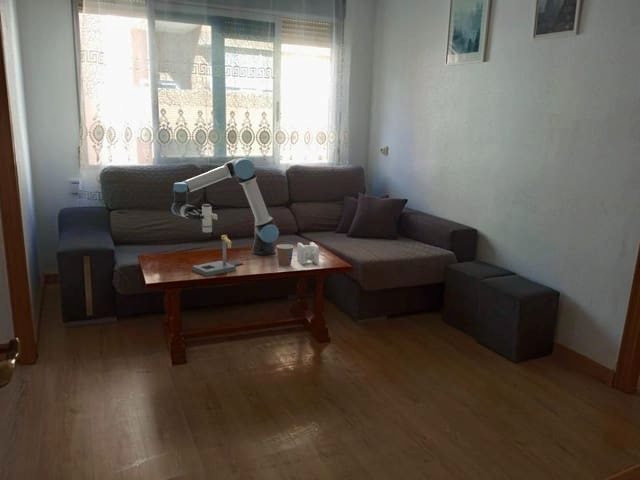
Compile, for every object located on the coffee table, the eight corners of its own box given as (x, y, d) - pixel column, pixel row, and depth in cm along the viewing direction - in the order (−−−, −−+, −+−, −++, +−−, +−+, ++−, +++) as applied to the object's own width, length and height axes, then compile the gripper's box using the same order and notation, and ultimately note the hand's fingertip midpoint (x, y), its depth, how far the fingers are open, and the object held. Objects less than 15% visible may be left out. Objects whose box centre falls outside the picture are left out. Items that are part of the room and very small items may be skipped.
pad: (235, 261, 308) (235, 260, 308) (243, 264, 303) (243, 263, 303) (224, 263, 303) (224, 262, 303) (231, 266, 297) (231, 265, 297)
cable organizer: (296, 259, 318) (296, 241, 315) (312, 259, 321) (313, 241, 318) (302, 266, 304) (303, 247, 301) (319, 265, 307) (320, 246, 304)
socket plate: (220, 264, 301) (220, 236, 297) (235, 270, 290) (235, 241, 287) (192, 270, 288) (191, 240, 284) (206, 276, 277) (206, 245, 274)
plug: (208, 230, 285) (208, 203, 282) (214, 231, 281) (214, 204, 278) (199, 231, 281) (199, 204, 278) (205, 233, 277) (204, 205, 274)
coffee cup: (290, 268, 298) (291, 248, 295) (273, 267, 299) (274, 247, 297) (295, 264, 307) (295, 244, 305) (278, 262, 309) (279, 243, 307)
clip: (220, 241, 291) (220, 235, 291) (226, 241, 293) (226, 235, 292) (226, 248, 277) (226, 241, 276) (232, 247, 278) (232, 240, 278)
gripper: (203, 216, 299) (226, 222, 283) (175, 219, 287) (197, 226, 270) (203, 203, 297) (226, 209, 281) (175, 206, 285) (197, 212, 269)
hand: (212, 217), depth 276 cm, fingers closed on plug, 5 cm apart
